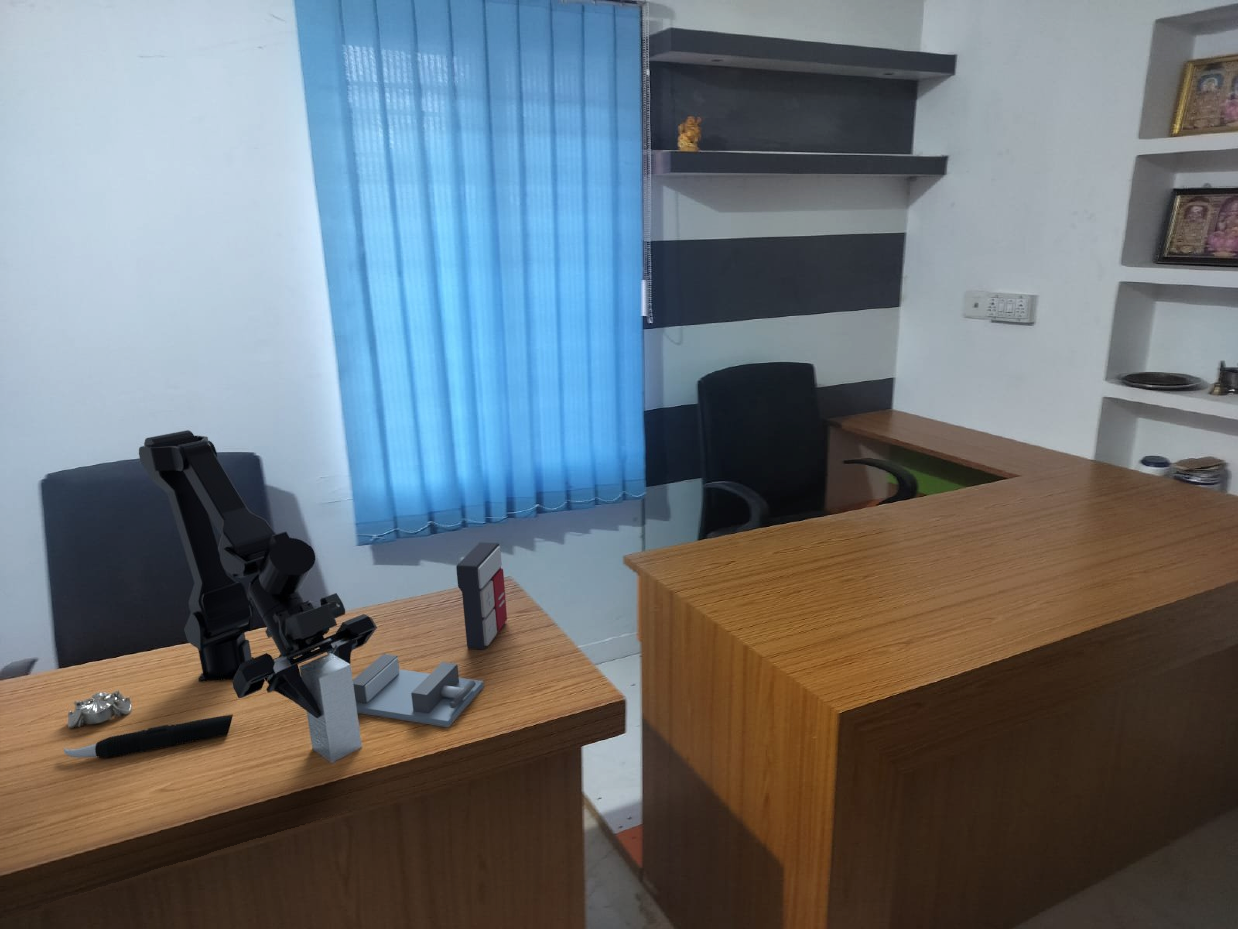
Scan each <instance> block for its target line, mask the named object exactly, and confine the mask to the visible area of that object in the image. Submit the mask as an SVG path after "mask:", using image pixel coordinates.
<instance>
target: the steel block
mask: <svg viewBox="0 0 1238 929" xmlns="http://www.w3.org/2000/svg"><path fill="white" fill-rule="evenodd" d="M299 671H300V675H301V678H302V680H303V682H304V683H305V685H306V686H307V688H308V690H309V691H310V693H311V695H312V696H313V698H314V700H315V701H316V703H317V705H318V707H319V709H320V712H321V716H320V717H319V718H316V717H314V716H313V715H312V714H310V713H309V712H307V711H306V718H307V722H308V723H307V724H308V730H309V736H310V743H311V749H312V750H313V751H315V752H316V753H317V754H318V755H320V756H321V757H323V758H325V760H327V761H328V762H330V763H331V764H333V763H335V762H337V761H339V760H341V759H342V758H344V757H346V756H348V755H350V754H352V753H353V752H355V751H357V750H359V749H362V747H363V745H362V744H363V743H362V738H361V730H360V723H359V717H358V713H357V707H356V700H355V693H354V686H353V679H354V678H353V672H352V671H353V670H352V664H349V663H347V662H345V661H344V660H342V659H340V658H338V657H337V656H335V655H333V654H331V653H330V654H327V653H326V655H325V654H324V655H322V656H320V657H317V658H314V659H313V660H311V661H309V662H307V663H305V664H302V665H301V664H300V666H299Z"/></svg>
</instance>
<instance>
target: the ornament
mask: <svg viewBox="0 0 1238 929" xmlns="http://www.w3.org/2000/svg"><path fill="white" fill-rule="evenodd" d="M73 705H74V706H75V707H74V711H73V712H72V711H71V710H69V711H68V712H67V716H68V717H67V718H68V722H67V726H68V728H69V729H74V728H76V727H78V728H81V727H82V726H84V724H86V725H94V724H95V725H96V724H100V723H104V722H106V721H108V720H110V719H112V718H113V717H117V718H120V717H122V716H123V715H129V714H130V713H131V711H132V703H131V698H130V697H129V696H126V697H124V696H123V695H122V693H121V692H120V690H117V691H114V692H112V693H107V692H106V691H105V692H104V691H100V692H96V693H95V694H93V695H92V696H91V698H88V699H84V700H80V701H78V700H77V701H73Z"/></svg>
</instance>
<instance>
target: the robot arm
mask: <svg viewBox="0 0 1238 929" xmlns="http://www.w3.org/2000/svg"><path fill="white" fill-rule="evenodd" d="M143 444H144V445H141V446H139V448H138V456H139V461H140V462H141V465H142V467H143V468H144V469H145V470H146V471H147V473H148V476H149V479H150V481H151V482H153V483H154V484H155V485H156V486H157V487H159V488H160V489H161V490H163V491H164V492H165V493H166V494H167V497H168V500H169V503H170V507H171V511H172V514H173V516H174V520H175V524H176V527H177V530H178V534H179V536H180V541H181V543H182V546H183V549H184V553H185V556H186V560H187V563H188V566H189V569H190V572H191V576H192V579H193V586H192V590H191V593H190V597H189V600H188V608H189V611H190V614H189V617H188V619H187V622H186V624H185V625H184V629H183V631H184V633H185V636H186V641H187V642H188V643H189V644H191V646H192V647H194V648H196V649H197V650H198V656H199V661H200V664H201V670H202V673H201V674H200V675H199V676H198V678H197V679H198V682H217V681H220V682H221V681H232V682H231V684H232V688H233V690H234V692H235V695H236V696H237V698H238V699H243V698H245V697H248V696H250V695H253V694H255V693H256V692H259V691H261V690H262V689H263V687H264V684H265V682H267V684H268V685H267V687H266V689H265V690H266V692H267V693H272V692H276V693H277V694H280V695H281V696H283V697H285V698H287V699H288V700H290V701H292V702H293V703H295V704H297V706H299V707H301V708H302V709H303V710H305V712H306V713H307V712H309V713H310V714H312V715H313V716H314V717H316V718H319V717H320V716H321V712H320V709H319V707H318V705H317V703H316V701H315V700H314V698H313V696H312V695H311V693H310V691H309V690H308V688H307V686H306V685H305V683H304V682H303V680H302V678H301V673H300V666H299V665H301V664H303V663H304V662H307V661H309V660H311V659H315V658H318V657H319V656H321V655H323V654H324V655H325V654H326V655H327V654H330V653H331V654H333V655H335V656H337V657H338V658H340V659H342V660H344V661H345V662H347V663H349V664H351V657H352V656H351V655H352V652H353V651H354V650H357V649H359V648H360V647H363V646H364V645H366V644H367V643H368V641H369V640H370V639H371V637H372V635H373V634H375V631H377V629H378V627H377V625H376V623H375V621H374V618H372V617H370V616H369V615H366V614H365V613H362V614H360V615H358V616H355V617H352V618H350V619H348V620H345V621H343V622H342V623H341V624H340V625H339V628H338V629H337V630H336V632H335V633H333V634H331V635H329V636H326V637H324V635H326V634H328V633H329V631H330V629H332V628H334V627H336V626H338V624H337V621H336V619H338V618H339V617H341V616H344V615H346V607H345V606H344V603H343V601H342V599H341V598H340V597H339V595H338V593H337V592H334V593H332V594H330V595H327V596H324V597H321V598H320V601H319V602H320V605H319V606H318V607H314V606H313V604H312V602H310V601H309V600H307V601H306V600H304V598H303V596H302V594H301V593H300V591H299V590H300V589H302V587H303V585H304V583H305V581H306V580H307V578H308V576H309V574H310V573H311V571H312V568H313V567H314V565H315V562H316V553H315V550H314V548H313V547H312V546H311V545H309V544H308V543H307V542H305V541H303V540H302V539H299V538H297V537H296V538H294V537H290V536H289V534H288V532H287V531H282V532H279V533H276V531H274V530H275V529H273V528H272V526H271V525H270V524H269V522H268V521H267V520H266V519H265V518H262V517H261V516H259V515H256V514H254V513H252V512H251V511H250V510H249V508H248V507H247V505H246V504H245V501H243V500H244V499H242V497H241V495H240V493H239V492H238V491H237V488H236V487H235V486H234V484H233V482H232V480H231V479H230V477H229V475H228V473H227V472H226V470H225V469H224V467H223V465H222V464H221V463H220V460H219V459H218V453H217V449H216V447H215V445H214V444H213V442H212V441H210V440H209V437H208V436H204V435H195V434H194V433H193V432H192V431H190V430H189V429H187V430H181V431H175V432H171V433H166V434H161V435H156V436H150V437H146V438H145V439H144V442H143ZM212 523H213V524H214V526H215V528H216V529H217V530H216V531H217V532H218V534H219V539H218V540H217V537H216V533H215V529H214V526H213V524H212ZM256 573H258V574H256ZM229 574H230V575H231V576H230V575H229ZM252 574H256V575H255V577H253V579H252V580H250V581H249V583H248V584H249V586H248V589H247V593H246V588H245V585H244V584H243V583H242V582H240V581H238V582H237V581H236V580H235V579H234V578H239V579H241V578H245V577H247V576H250V575H252ZM232 577H233V578H232ZM254 606H255V608H256V609H257V611H258V614H259V616H260V618H261V619H262V621H263V623H264V625H265V627H266V630H265V631H264V632H265V635H266V636H267V638H268V639H269V638H271V639H272V640H273V642H274V644H275V646H276V648H277V650H278V651H279V656H278V657H276V658H273V656H272V655H271V654H269V653H267V652H266V653H262V654H261V655H258V656H256V657H253V656H252V651H251V645H250V641H249V639H246V634H245V633H248V632H252V631H253V629H254ZM351 665H352V664H351Z"/></svg>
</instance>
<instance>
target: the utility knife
mask: <svg viewBox="0 0 1238 929" xmlns="http://www.w3.org/2000/svg"><path fill="white" fill-rule="evenodd" d="M233 716H234V714H227V715H221V716H215V717H208V718H203V719H202V718H201V719H198V720H197V719H196V720H191V721H186V722H182V723H177V724H171V725H168V724H165V725H158V726H153V727H149V728H147V729H143V730H139V731H133V732H130V733H123V734H120V735H119V734H118V735H114V736H108V737H107V738H104V739H101V740H99V741H98V742H97V743H93V744H91V745H87V746H84V747H79V748H74V749H73V748H72V749H67V748H66V747H65V746H63V752H64V754H65V755H67V756H68V757H71V758H93V757H94V758H96V757H97V758H99V759H111V758H113V757H114V758H117V757H120V756H121V757H122V756H123V757H124V756H126V755H131V754H137V753H141V752H143V753H145V752H149V751H153V750H157V749H164V748H168V747H174V746H177V745H178V746H179V745H183V744H187V743H193V742H197V741H198V742H199V741H204V740H209V739H212V738H217V737H221V736H225V735H228V734H229V732H230V728H231V725H232V721H233ZM114 758H113V759H114Z"/></svg>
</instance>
